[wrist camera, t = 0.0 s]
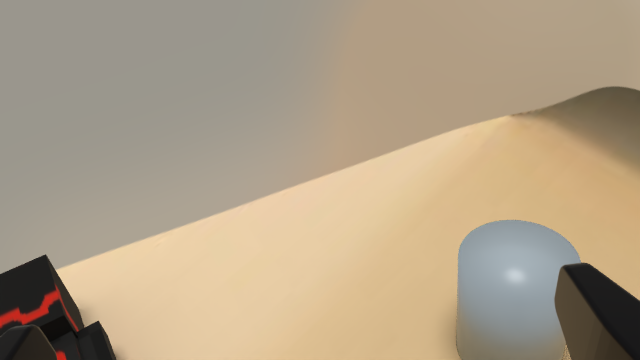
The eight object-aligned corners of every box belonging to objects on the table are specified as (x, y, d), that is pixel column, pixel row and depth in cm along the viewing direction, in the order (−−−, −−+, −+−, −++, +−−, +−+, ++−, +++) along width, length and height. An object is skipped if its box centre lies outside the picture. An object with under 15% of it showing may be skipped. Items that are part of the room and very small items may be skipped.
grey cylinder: (579, 384, 25) (602, 296, 22) (469, 395, 26) (474, 310, 22) (541, 299, 29) (555, 213, 26) (446, 310, 30) (447, 226, 26)
